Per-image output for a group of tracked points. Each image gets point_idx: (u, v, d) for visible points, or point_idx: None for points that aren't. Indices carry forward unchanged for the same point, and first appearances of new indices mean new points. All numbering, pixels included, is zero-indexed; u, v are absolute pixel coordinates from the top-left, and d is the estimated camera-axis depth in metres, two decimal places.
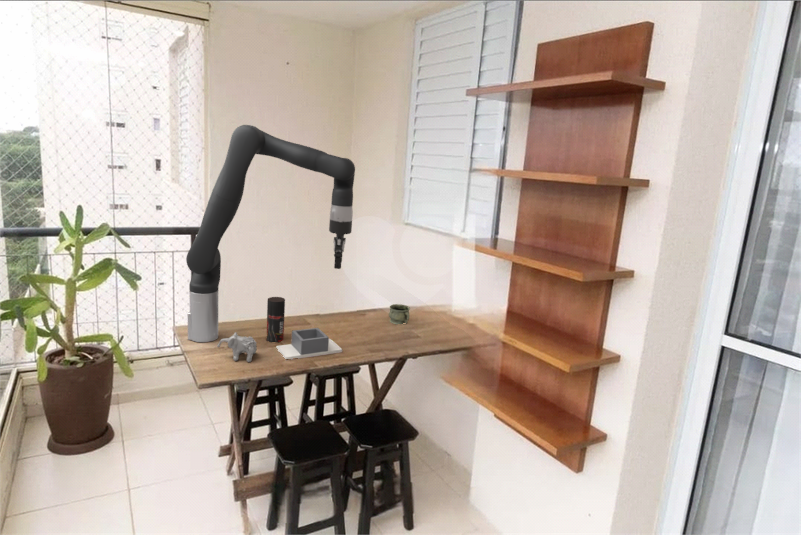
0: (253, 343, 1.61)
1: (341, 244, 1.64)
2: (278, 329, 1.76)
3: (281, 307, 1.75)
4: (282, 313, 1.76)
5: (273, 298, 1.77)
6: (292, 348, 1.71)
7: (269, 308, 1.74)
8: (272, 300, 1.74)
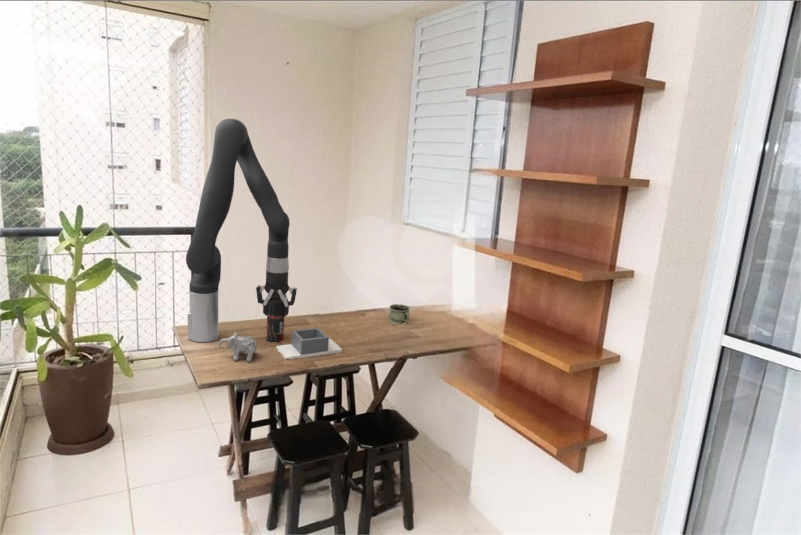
0: (253, 343, 1.61)
1: None
2: (278, 329, 1.76)
3: (281, 307, 1.75)
4: (282, 313, 1.76)
5: (273, 298, 1.77)
6: (292, 348, 1.71)
7: (269, 308, 1.74)
8: (272, 300, 1.74)
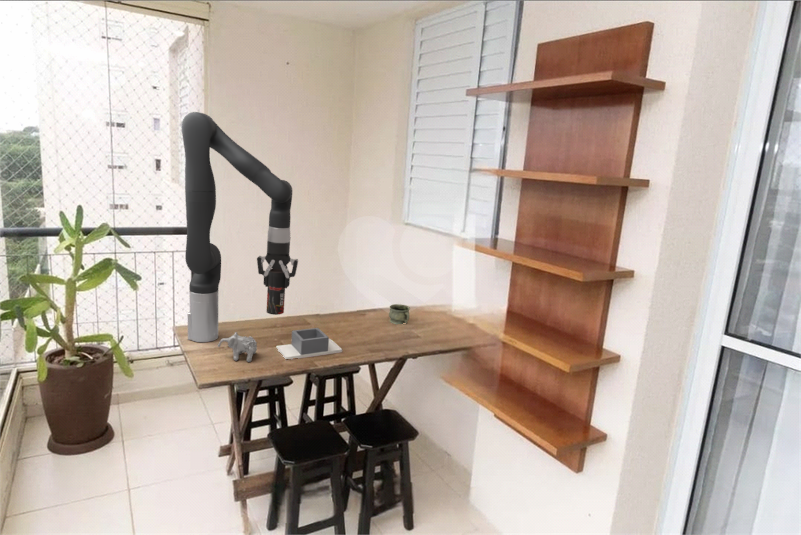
0: (253, 343, 1.61)
1: (297, 264, 1.74)
2: (278, 300, 1.74)
3: (282, 279, 1.73)
4: (283, 285, 1.73)
5: (273, 269, 1.74)
6: (292, 348, 1.71)
7: (270, 279, 1.72)
8: (273, 271, 1.72)
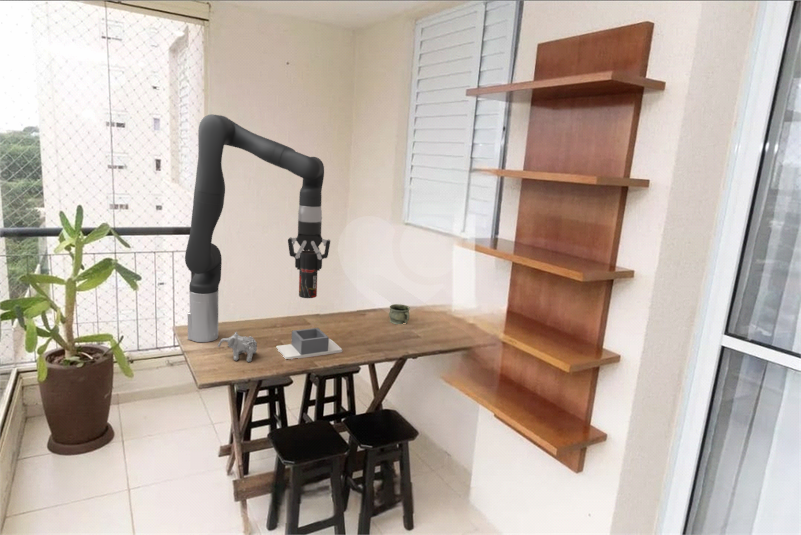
0: (253, 343, 1.61)
1: None
2: (311, 283, 1.66)
3: (315, 260, 1.65)
4: (315, 266, 1.66)
5: (305, 251, 1.67)
6: (292, 348, 1.71)
7: (302, 261, 1.64)
8: (305, 252, 1.64)
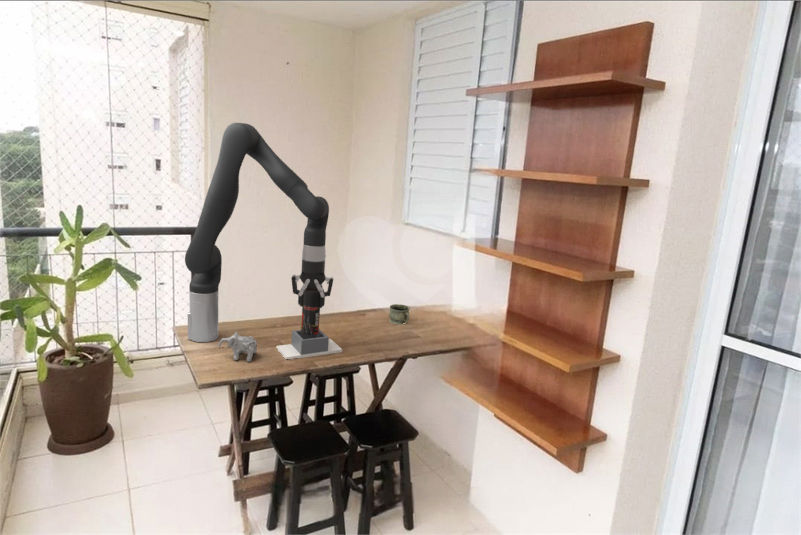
0: (253, 343, 1.61)
1: None
2: (314, 320, 1.68)
3: (317, 298, 1.67)
4: (318, 304, 1.68)
5: (308, 288, 1.68)
6: (292, 348, 1.71)
7: (305, 299, 1.66)
8: (308, 290, 1.66)
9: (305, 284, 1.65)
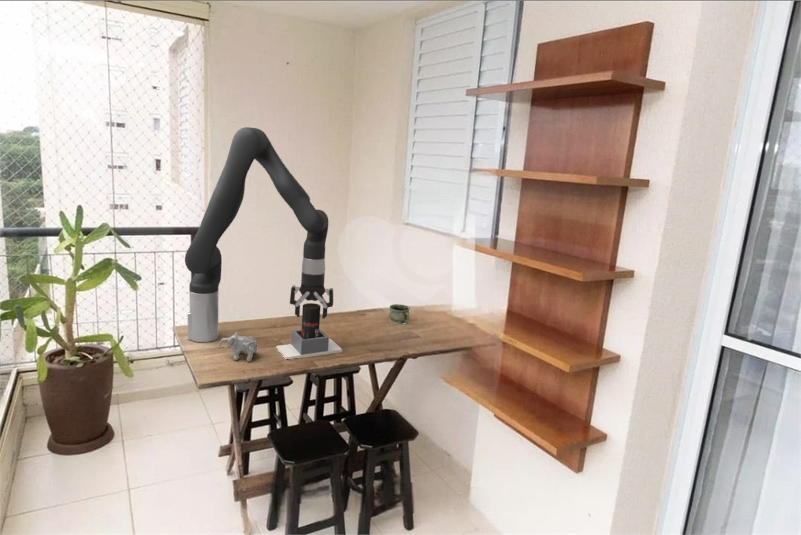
0: (253, 343, 1.61)
1: None
2: (313, 336, 1.69)
3: (317, 314, 1.68)
4: (318, 320, 1.69)
5: (308, 305, 1.70)
6: (292, 348, 1.71)
7: (304, 315, 1.68)
8: (307, 307, 1.68)
9: (304, 296, 1.66)
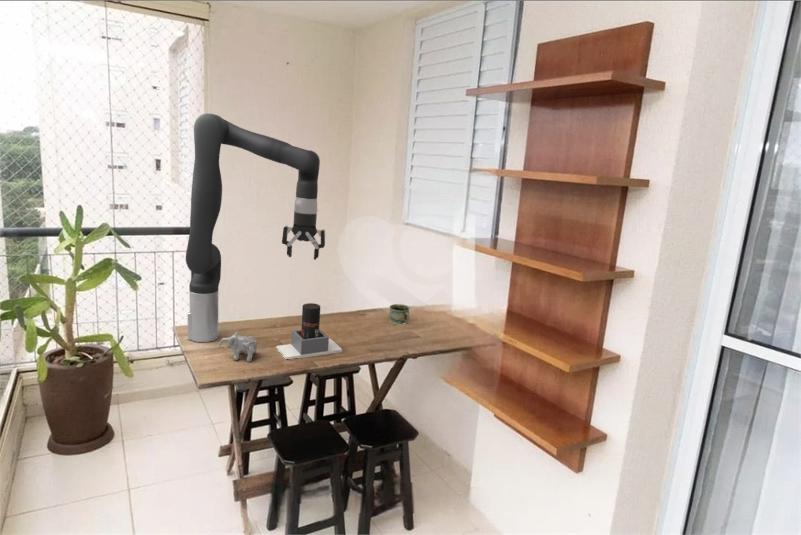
0: (253, 343, 1.61)
1: None
2: (313, 337, 1.69)
3: (317, 315, 1.68)
4: (317, 320, 1.69)
5: (307, 305, 1.70)
6: (292, 348, 1.71)
7: (304, 315, 1.67)
8: (307, 307, 1.68)
9: (296, 236, 1.69)
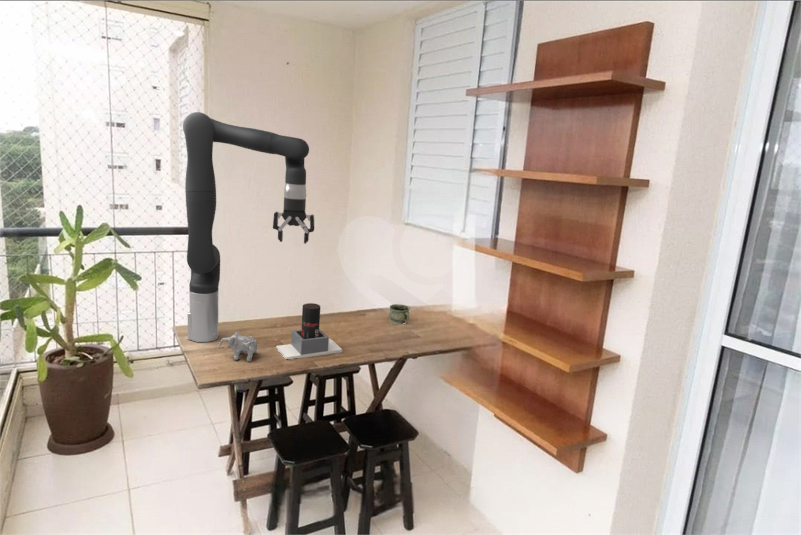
0: (253, 343, 1.61)
1: None
2: (313, 337, 1.69)
3: (317, 315, 1.68)
4: (317, 320, 1.69)
5: (307, 305, 1.70)
6: (292, 348, 1.71)
7: (304, 315, 1.67)
8: (307, 307, 1.68)
9: (286, 221, 1.76)
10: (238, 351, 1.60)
